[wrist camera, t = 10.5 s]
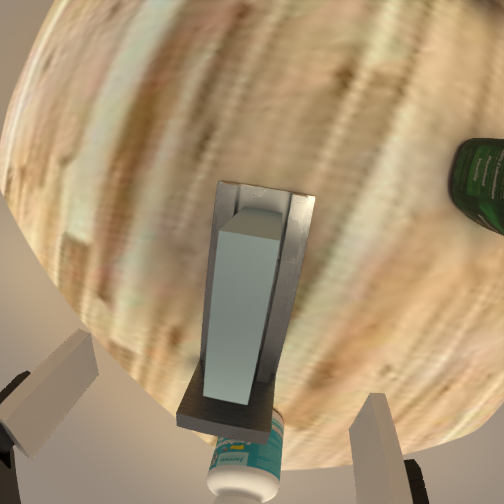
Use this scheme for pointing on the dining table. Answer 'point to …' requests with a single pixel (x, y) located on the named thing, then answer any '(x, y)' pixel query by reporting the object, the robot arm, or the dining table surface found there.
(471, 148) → the coffee jar
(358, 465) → the robot arm
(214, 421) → the floor track
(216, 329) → the gray rectangular block
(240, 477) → the pill bottle
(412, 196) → the dining table surface
